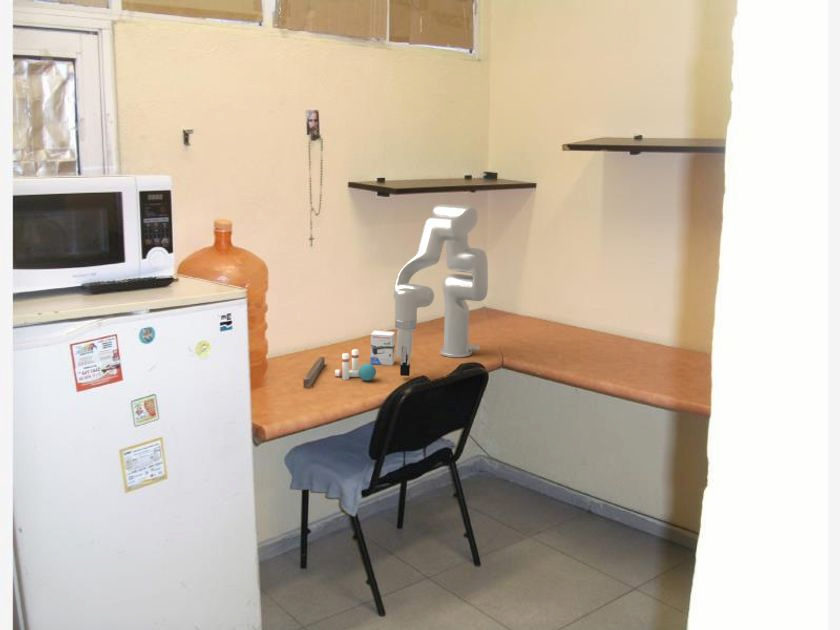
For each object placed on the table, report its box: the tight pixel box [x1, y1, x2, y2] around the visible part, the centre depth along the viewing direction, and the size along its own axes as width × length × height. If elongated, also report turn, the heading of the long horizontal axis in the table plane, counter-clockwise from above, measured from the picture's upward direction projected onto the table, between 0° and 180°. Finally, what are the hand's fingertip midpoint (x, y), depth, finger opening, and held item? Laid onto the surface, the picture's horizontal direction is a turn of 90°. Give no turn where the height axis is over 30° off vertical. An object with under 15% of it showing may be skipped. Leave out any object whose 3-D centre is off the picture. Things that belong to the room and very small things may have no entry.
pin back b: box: [341, 352, 350, 381], centre depth 278 cm, size 2×2×9 cm
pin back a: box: [351, 348, 360, 370], centre depth 284 cm, size 2×2×9 cm
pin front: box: [334, 369, 361, 378], centre depth 282 cm, size 2×2×9 cm
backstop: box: [302, 356, 326, 389], centre depth 282 cm, size 2×28×3 cm, turn 176°
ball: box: [359, 363, 377, 382], centre depth 278 cm, size 6×6×6 cm
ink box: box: [370, 330, 396, 366], centre depth 298 cm, size 8×5×12 cm, turn 82°
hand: (404, 375), depth 280 cm, fingers closed
